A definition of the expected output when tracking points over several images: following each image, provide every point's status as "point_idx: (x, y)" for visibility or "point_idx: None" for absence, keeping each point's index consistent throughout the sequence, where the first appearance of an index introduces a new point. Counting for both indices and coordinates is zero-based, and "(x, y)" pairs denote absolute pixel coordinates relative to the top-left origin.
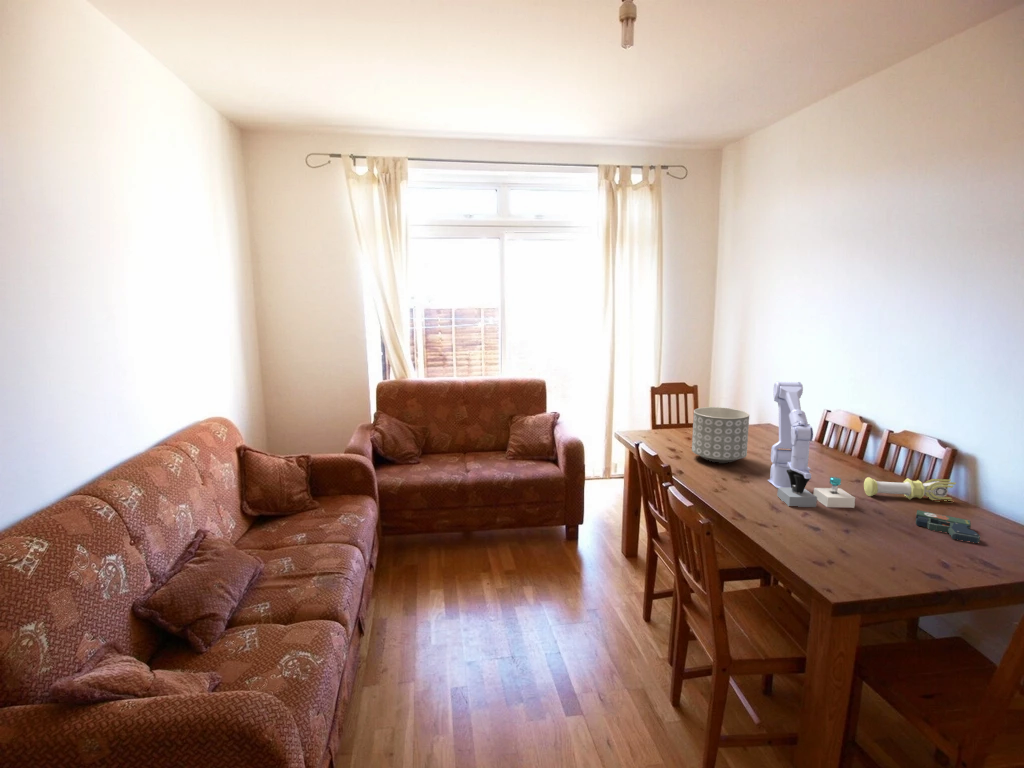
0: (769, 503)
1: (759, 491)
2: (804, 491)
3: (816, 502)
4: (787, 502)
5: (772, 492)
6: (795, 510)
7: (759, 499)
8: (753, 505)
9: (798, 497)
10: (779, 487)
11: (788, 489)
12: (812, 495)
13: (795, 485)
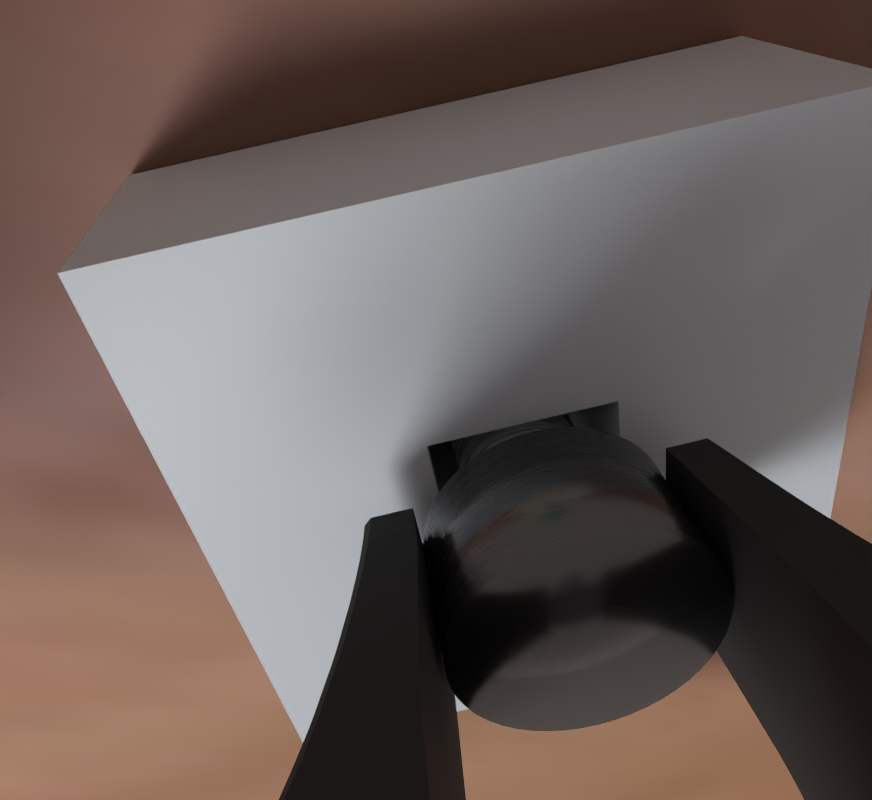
0: None
1: (145, 750)
2: (435, 321)
3: (807, 53)
4: None
5: (102, 630)
6: (859, 434)
7: (479, 745)
8: (677, 777)
9: (824, 497)
10: (298, 730)
11: None
12: (752, 175)
13: (591, 677)
